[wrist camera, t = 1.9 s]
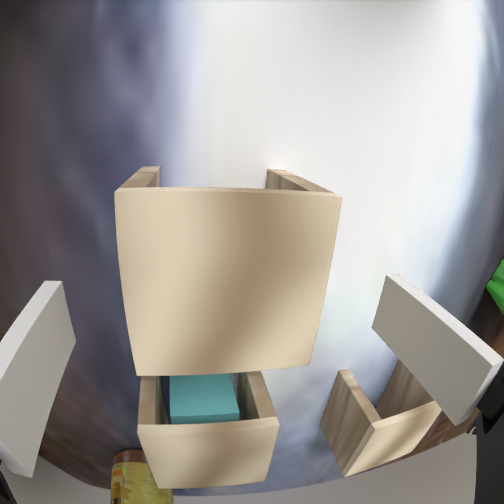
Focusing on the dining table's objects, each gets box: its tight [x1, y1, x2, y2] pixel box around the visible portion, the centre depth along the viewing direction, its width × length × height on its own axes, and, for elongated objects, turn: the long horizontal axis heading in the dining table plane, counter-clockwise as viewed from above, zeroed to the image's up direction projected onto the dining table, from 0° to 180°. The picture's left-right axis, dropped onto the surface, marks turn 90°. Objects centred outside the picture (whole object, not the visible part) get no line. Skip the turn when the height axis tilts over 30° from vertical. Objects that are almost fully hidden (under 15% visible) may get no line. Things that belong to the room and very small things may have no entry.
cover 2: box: [137, 371, 280, 489], centre depth 19 cm, size 8×8×7 cm
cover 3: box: [320, 359, 442, 477], centre depth 24 cm, size 8×8×7 cm
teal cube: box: [170, 373, 239, 425], centre depth 21 cm, size 4×4×4 cm
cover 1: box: [114, 166, 342, 376], centre depth 15 cm, size 8×8×7 cm
